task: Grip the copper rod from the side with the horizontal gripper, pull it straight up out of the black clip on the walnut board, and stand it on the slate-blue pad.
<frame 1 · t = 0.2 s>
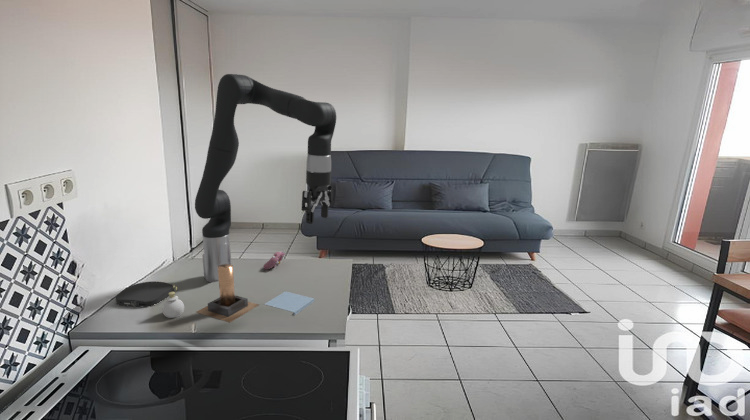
hand: (317, 220, 136), 28 cm above the kitchen counter, tool pointing down, fingers open, 8 cm apart
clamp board: (228, 311, 137), on the kitchen counter
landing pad: (289, 304, 142), on the kitchen counter
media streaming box: (146, 298, 146), on the kitchen counter
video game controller: (275, 266, 175), on the kitchen counter
ornament: (175, 316, 133), on the kitchen counter
copper rod: (228, 308, 137), point 1 cm above the kitchen counter, touching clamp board
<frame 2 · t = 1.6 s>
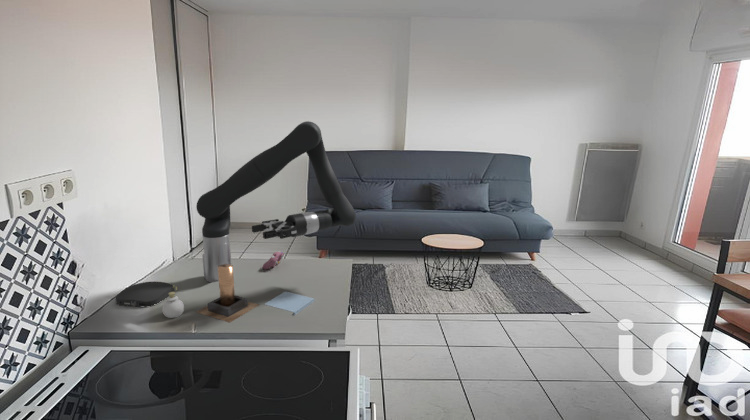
hand: (257, 232, 138), 24 cm above the kitchen counter, tool horizontal, fingers open, 8 cm apart
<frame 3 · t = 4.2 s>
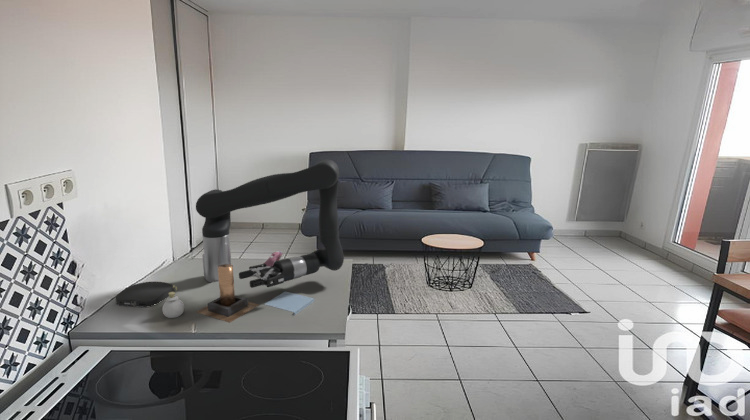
hand: (244, 280, 138), 9 cm above the kitchen counter, tool horizontal, fingers open, 8 cm apart
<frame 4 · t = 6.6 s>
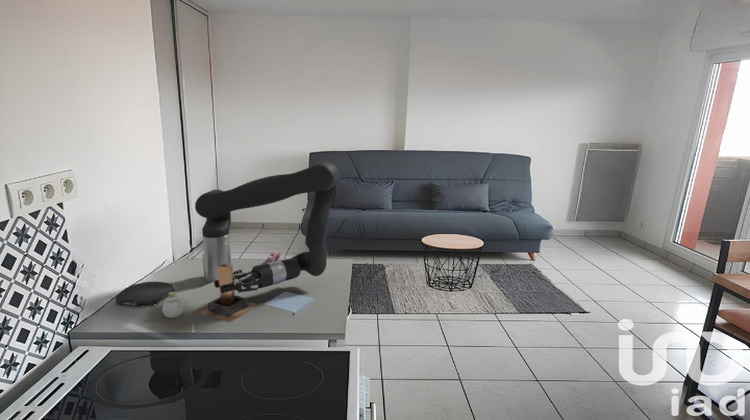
hand: (218, 286, 133), 9 cm above the kitchen counter, tool horizontal, fingers closed on copper rod, 4 cm apart
copper rod: (228, 308, 137), point 1 cm above the kitchen counter, touching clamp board, gripper
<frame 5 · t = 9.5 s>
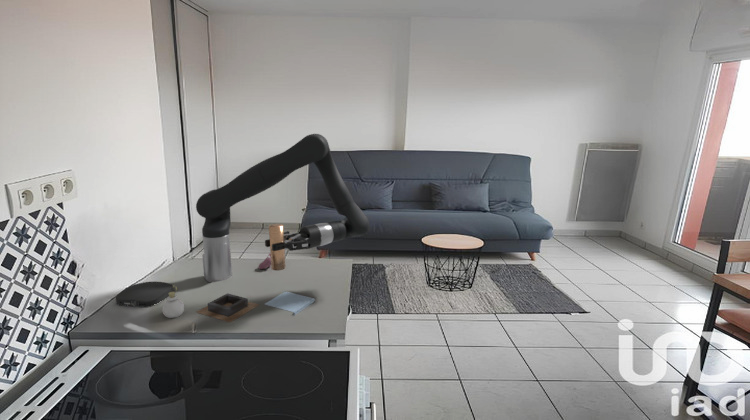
hand: (269, 245, 135), 21 cm above the kitchen counter, tool horizontal, fingers closed on copper rod, 4 cm apart
copper rod: (278, 267, 138), point 13 cm above the kitchen counter, touching gripper
when the fingers open (10 cm above the kitchen counter, at t = 12.2 s): copper rod drops 1 cm, resting on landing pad.
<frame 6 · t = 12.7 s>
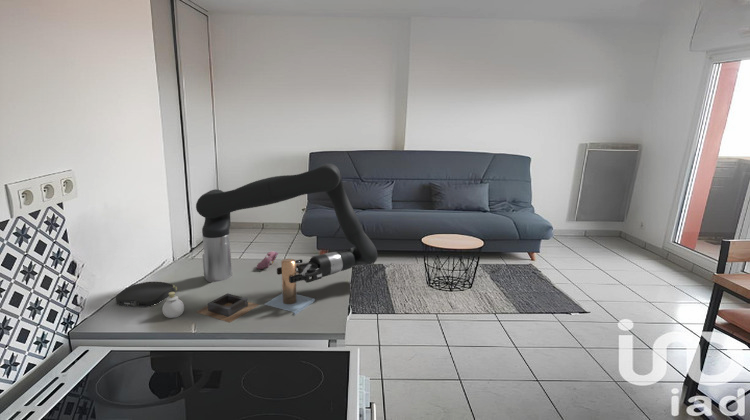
hand: (283, 275, 139), 10 cm above the kitchen counter, tool horizontal, fingers open, 8 cm apart
copper rod: (289, 301, 142), point 1 cm above the kitchen counter, touching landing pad
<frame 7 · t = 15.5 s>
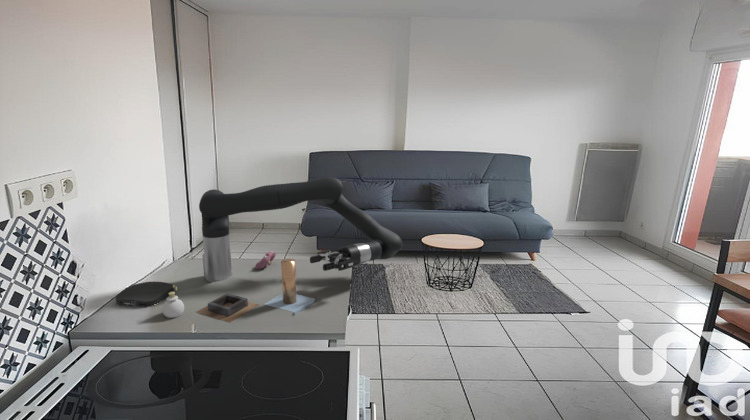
hand: (316, 264, 146), 11 cm above the kitchen counter, tool horizontal, fingers open, 8 cm apart
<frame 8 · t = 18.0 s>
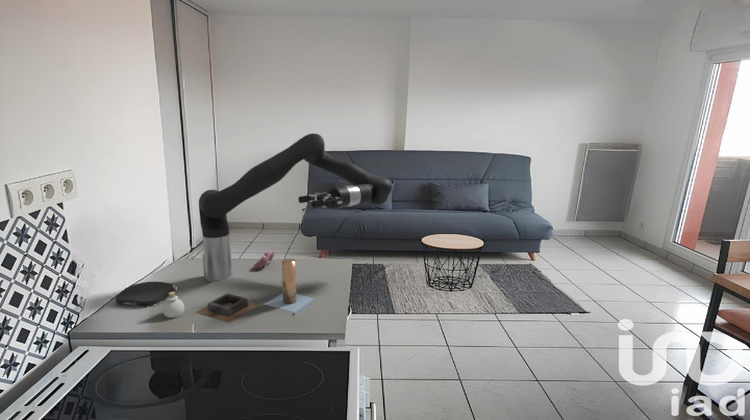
hand: (305, 202, 145), 32 cm above the kitchen counter, tool horizontal, fingers open, 8 cm apart
at the end: copper rod inside the target area on the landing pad (0.1 cm from its centre), point 1.0 cm above the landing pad's base; copper rod tilted 1°; the gripper is holding nothing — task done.
